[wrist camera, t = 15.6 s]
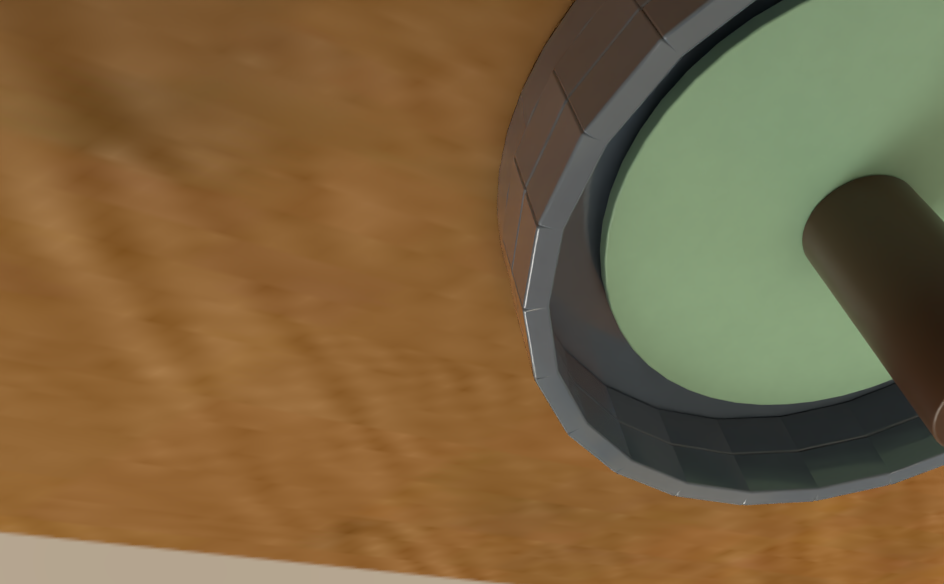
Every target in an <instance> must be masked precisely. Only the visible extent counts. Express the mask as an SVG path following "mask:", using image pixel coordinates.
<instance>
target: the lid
mask: <svg viewBox="0 0 944 584" xmlns="http://www.w3.org/2000/svg"><path fill="white" fill-rule="evenodd" d="M600 261H601V276H602V281H603V285H604V289H605V293H606V297H607V301H608V303H609V306H610V308H611V311H612V313H613V315H614V318H615V320H616V322H617V325H618V327H619V329H620V331H621V333H622V334H623V336H624V337H625V339H626V340H627V342H628V343H629V344H630V346H631V347H632V349H633V350H634V351H635V352H636V353H637V354H638V355H639V356H640V357H641V358H642V359H643V360H644V361H645V362H646V363H647V364H648V365H649V366H650V367H651V368H653V369H654V370H655V371H657V372H658V373H660V374H661V375H662V376H664V377H665V378H666V379H668V380H670V381H672V382H674V383H676V384H678V385H680V386H682V387H684V388H686V389H687V390H690V391H693V392H696V393H699V394H702V395H705V396H707V397H710V398H715V399H720V400H725V401H730V402H734V403H745V404H756V405H782V404H795V403H804V402H813V401H819V400H824V399H829V398H834V397H838V396H843V395H847V394H850V393H853V392H857V391H860V390H864V389H867V388H871V387H873V386H876V385H879V384H881V383H884V382H887V381H889V380H892V379H893V380H894V382H895V383H896V384H897V386H898V387H899V389H900V390H901V391H902V393H903V394H904V396H905V397H906V399H907V400H908V401H909V403H910V404H911V406H912V407H913V408H914V410H915V411H916V413H917V414H918V416H919V417H920V418H921V420H922V421H923V423H924V424H925V425H926V427H927V428H928V430H929V431H930V432H931V434H932V435H933V437H934V438H935V440H936V441H937V442H938V443H939V444H940V445H942V446H943V447H944V0H782V1H781V2H779V3H777V4H776V5H774V6H772V7H770V8H769V9H767V10H765V11H764V12H762V13H760V14H758V15H757V16H755V17H753V18H752V19H751V20H749V21H748V22H746V23H745V24H744V25H742V26H741V27H740V28H738V29H737V30H735V31H734V32H733V33H731V34H730V35H729V36H727V37H726V38H725V39H723V40H722V41H720V42H719V43H718V44H717V45H716V46H715V47H713V48H712V49H711V50H710V51H709V52H708V53H707V54H706V55H705V56H704V57H702V58H701V59H700V60H699V61H698V62H697V63H696V64H695V65H694V66H692V67H691V68H690V69H689V70H688V71H687V72H686V73H685V74H684V76H683V77H682V78H681V79H680V80H679V81H678V82H677V83H676V84H675V86H674V87H673V88H672V89H671V90H670V91H669V92H668V93H667V94H666V96H665V97H664V98H663V99H662V100H661V101H660V103H659V104H658V106H657V107H656V108H655V110H654V111H653V113H652V114H651V115H650V117H649V118H648V120H647V121H646V122H645V124H644V125H643V126H642V128H641V129H640V131H639V132H638V134H637V136H636V138H635V140H634V142H633V143H632V145H631V147H630V149H629V151H628V152H627V154H626V156H625V158H624V160H623V161H622V164H621V166H620V169H619V171H618V174H617V176H616V179H615V181H614V184H613V186H612V189H611V191H610V195H609V199H608V203H607V207H606V211H605V215H604V219H603V223H602V233H601V243H600Z"/></svg>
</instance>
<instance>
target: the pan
mask: <svg viewBox="0 0 944 584" xmlns="http://www.w3.org/2000/svg"><path fill="white" fill-rule="evenodd" d="M781 1H782V0H576V1H575V2H574V3H573V5H572V6H571V8H570V9H569V11H568V12H567V14H566V15H565V17H564V18H563V20H562V21H561V22H560V24H559V25H558V27H557V28H556V30H555V31H554V33H553V34H552V36H551V37H550V39H549V40H548V42H547V43H546V45H545V46H544V48H543V50H542V52H541V54H540V56H539V58H538V60H537V62H536V64H535V66H534V68H533V70H532V72H531V74H530V76H529V78H528V80H527V81H526V83H525V85H524V87H523V89H522V92H521V95H520V98H519V101H518V103H517V106H516V109H515V112H514V115H513V117H512V120H511V123H510V126H509V129H508V131H507V136H506V141H505V146H504V151H503V155H502V160H501V165H500V170H499V182H498V199H497V215H498V226H499V236H500V245H501V249H502V252H503V256H504V260H505V264H506V267H507V271H508V275H509V280H510V286H511V291H512V297H513V303H514V307H515V310H516V314H517V318H518V321H519V325H520V329H521V332H522V336H523V339H524V343H525V347H526V351H527V354H528V358H529V362H530V365H531V369H532V373H533V376H534V379H535V381H536V383H537V385H538V386H539V388H540V390H541V391H542V393H543V395H544V396H545V398H546V400H547V401H548V403H549V405H550V406H551V408H552V410H553V411H554V413H555V415H556V416H557V418H558V420H559V421H560V423H561V425H562V426H563V428H564V430H565V431H566V432H567V434H568V435H569V436H570V437H571V438H573V439H574V440H575V441H576V442H578V443H579V444H580V445H581V446H583V447H584V448H585V449H586V450H588V451H589V452H590V453H591V454H593V455H594V456H595V457H596V458H598V459H599V460H600V461H601V462H603V463H604V464H605V465H606V466H608V467H609V468H610V469H611V470H613V471H614V472H616V473H617V474H620V475H622V476H625V477H627V478H630V479H633V480H635V481H638V482H640V483H643V484H645V485H648V486H650V487H653V488H655V489H658V490H660V491H663V492H665V493H668V494H671V495H673V496H675V495H676V496H678V497H685V498H692V499H700V500H707V501H714V502H721V503H729V504H736V505H742V504H743V505H758V504H776V503H795V502H813V501H818V500H823V499H827V498H832V497H837V496H841V495H846V494H850V493H855V492H860V491H864V490H869V489H873V488H878V487H883V486H887V485H889V484H895V483H897V482H900V481H903V480H905V479H908V478H911V477H913V476H916V475H919V474H922V473H924V472H927V471H930V470H932V469H935V468H938V467H940V466H943V465H944V447H943V446H942V445H940V444H939V443H938V442H937V441H936V440H935V438H934V437H933V435H932V434H931V432H930V431H929V430H928V428H927V427H926V425H925V424H924V423H923V421H922V420H921V418H920V417H919V416H918V414H917V413H916V411H915V410H914V408H913V407H912V406H911V404H910V403H909V401H908V400H907V399H906V397H905V396H904V394H903V393H902V391H901V390H900V389H899V387H898V386H897V384H896V383H895V382H894V380H893V379H892V380H889V381H887V382H884V383H881V384H879V385H876V386H873V387H871V388H867V389H864V390H860V391H857V392H853V393H850V394H847V395H843V396H838V397H834V398H829V399H824V400H819V401H813V402H804V403H795V404H782V405H756V404H745V403H734V402H730V401H725V400H720V399H715V398H710V397H707V396H705V395H702V394H699V393H696V392H693V391H690V390H687V389H686V388H684V387H682V386H680V385H678V384H676V383H674V382H672V381H670V380H668V379H666V378H665V377H664V376H662V375H661V374H660V373H658V372H657V371H655V370H654V369H653V368H651V367H650V366H649V365H648V364H647V363H646V362H645V361H644V360H643V359H642V358H641V357H640V356H639V355H638V354H637V353H636V352H635V351H634V350H633V349H632V347H631V346H630V344H629V343H628V342H627V340H626V339H625V337H624V336H623V334H622V333H621V331H620V329H619V327H618V325H617V322H616V320H615V318H614V315H613V313H612V311H611V308H610V306H609V303H608V301H607V297H606V293H605V289H604V285H603V281H602V276H601V261H600V243H601V233H602V223H603V219H604V215H605V211H606V207H607V203H608V199H609V195H610V191H611V189H612V186H613V184H614V181H615V179H616V176H617V174H618V171H619V169H620V166H621V164H622V161H623V160H624V158H625V156H626V154H627V152H628V151H629V149H630V147H631V145H632V143H633V142H634V140H635V138H636V136H637V134H638V132H639V131H640V129H641V128H642V126H643V125H644V124H645V122H646V121H647V120H648V118H649V117H650V115H651V114H652V113H653V111H654V110H655V108H656V107H657V106H658V104H659V103H660V101H661V100H662V99H663V98H664V97H665V96H666V94H667V93H668V92H669V91H670V90H671V89H672V88H673V87H674V86H675V84H676V83H677V82H678V81H679V80H680V79H681V78H682V77H683V76H684V74H685V73H686V72H687V71H688V70H689V69H690V68H691V67H692V66H694V65H695V64H696V63H697V62H698V61H699V60H700V59H701V58H702V57H704V56H705V55H706V54H707V53H708V52H709V51H710V50H711V49H712V48H713V47H715V46H716V45H717V44H718V43H719V42H720V41H722V40H723V39H725V38H726V37H727V36H729V35H730V34H731V33H733V32H734V31H735V30H737V29H738V28H740V27H741V26H742V25H744V24H745V23H746V22H748V21H749V20H751V19H752V18H753V17H755V16H757V15H758V14H760V13H762V12H764V11H765V10H767V9H769V8H770V7H772V6H774V5H776V4H777V3H779V2H781Z"/></svg>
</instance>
